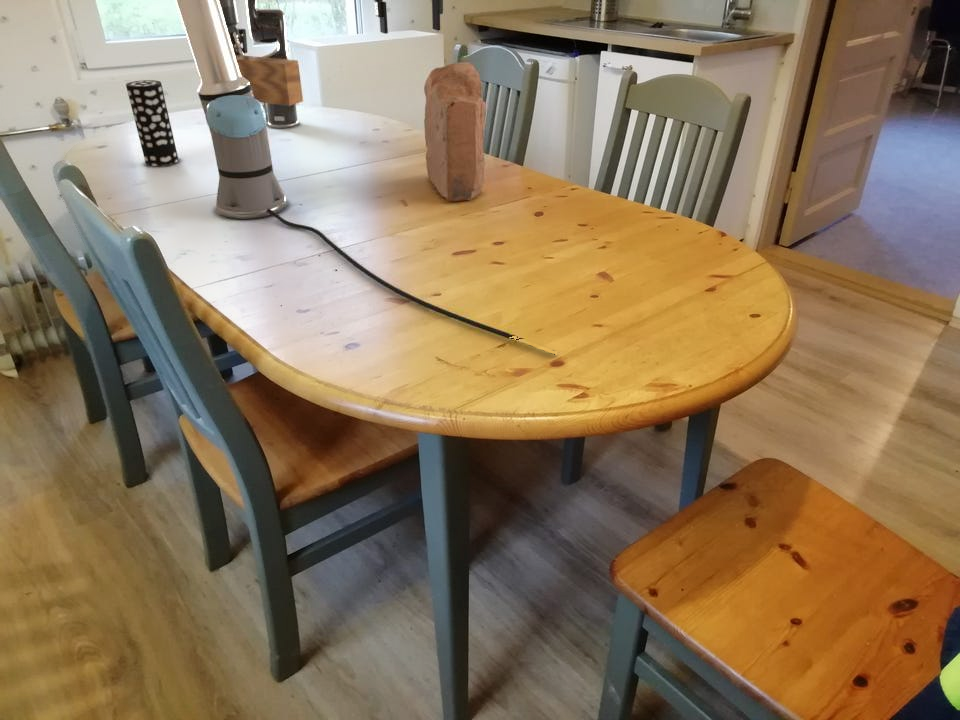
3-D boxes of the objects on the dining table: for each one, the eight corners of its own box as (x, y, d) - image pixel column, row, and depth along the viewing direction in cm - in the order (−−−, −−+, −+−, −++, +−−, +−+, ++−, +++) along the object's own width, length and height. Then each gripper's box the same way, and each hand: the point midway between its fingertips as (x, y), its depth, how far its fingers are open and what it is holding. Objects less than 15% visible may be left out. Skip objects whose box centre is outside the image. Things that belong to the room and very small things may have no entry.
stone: (494, 199, 163) (495, 72, 149) (448, 204, 160) (444, 75, 146) (466, 175, 181) (465, 60, 167) (425, 179, 178) (420, 62, 164)
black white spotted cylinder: (184, 157, 190) (167, 80, 179) (169, 166, 183) (151, 87, 172) (155, 156, 190) (136, 79, 179) (139, 165, 183) (119, 86, 172)
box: (303, 101, 185) (298, 60, 179) (289, 105, 180) (284, 64, 174) (233, 93, 192) (226, 53, 186) (218, 97, 187) (211, 57, 182)
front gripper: (449, -74, 161) (450, 26, 172) (347, -75, 150) (355, 32, 162) (464, -74, 155) (464, 30, 167) (359, -75, 145) (367, 36, 156)
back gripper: (227, 0, 183) (238, 68, 192) (188, 5, 172) (202, 77, 181) (250, 2, 181) (260, 70, 190) (212, 7, 169) (225, 79, 178)
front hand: (410, 31), depth 164 cm, fingers open, 13 cm apart
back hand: (232, 73), depth 185 cm, fingers closed on box, 6 cm apart
